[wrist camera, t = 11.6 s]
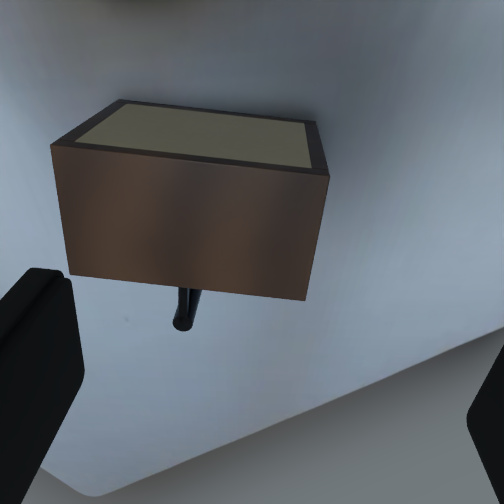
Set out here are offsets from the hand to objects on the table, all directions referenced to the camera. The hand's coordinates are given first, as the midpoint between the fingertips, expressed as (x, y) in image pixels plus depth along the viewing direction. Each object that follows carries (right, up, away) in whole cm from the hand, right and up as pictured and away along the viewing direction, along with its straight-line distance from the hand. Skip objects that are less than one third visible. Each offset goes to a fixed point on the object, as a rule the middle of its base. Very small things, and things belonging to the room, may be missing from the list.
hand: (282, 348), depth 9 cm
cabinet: (-4, +10, +28) cm, 29 cm away
